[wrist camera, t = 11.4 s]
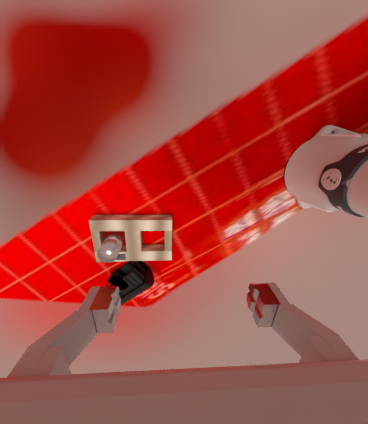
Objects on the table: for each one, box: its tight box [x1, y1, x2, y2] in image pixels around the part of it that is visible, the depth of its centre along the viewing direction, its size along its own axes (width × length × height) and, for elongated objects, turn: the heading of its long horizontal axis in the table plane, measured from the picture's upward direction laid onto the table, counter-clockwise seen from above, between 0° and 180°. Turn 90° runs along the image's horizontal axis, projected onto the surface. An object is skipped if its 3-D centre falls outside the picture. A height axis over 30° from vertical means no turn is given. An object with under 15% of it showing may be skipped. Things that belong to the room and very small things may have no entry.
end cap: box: [106, 261, 154, 305], centre depth 46 cm, size 10×7×7 cm
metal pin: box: [97, 231, 125, 263], centre depth 40 cm, size 4×4×8 cm
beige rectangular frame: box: [89, 215, 172, 262], centre depth 43 cm, size 18×11×3 cm, turn 88°
